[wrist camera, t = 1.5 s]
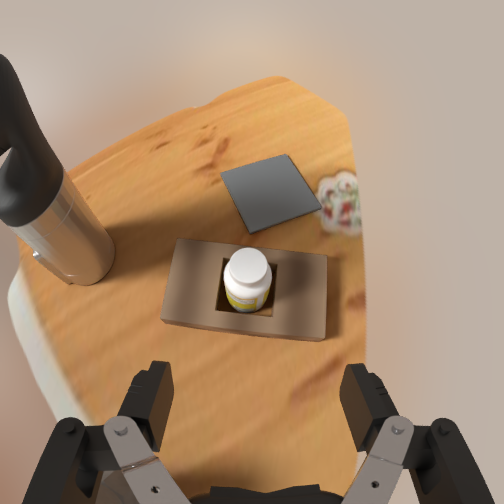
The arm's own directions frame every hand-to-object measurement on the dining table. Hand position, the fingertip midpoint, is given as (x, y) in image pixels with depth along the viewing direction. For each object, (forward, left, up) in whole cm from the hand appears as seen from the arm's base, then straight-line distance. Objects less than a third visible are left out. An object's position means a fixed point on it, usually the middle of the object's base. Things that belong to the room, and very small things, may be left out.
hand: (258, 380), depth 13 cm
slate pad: (+15, +25, -25) cm, 38 cm away
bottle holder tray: (+5, +11, -25) cm, 27 cm away
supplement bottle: (+5, +11, -25) cm, 27 cm away
